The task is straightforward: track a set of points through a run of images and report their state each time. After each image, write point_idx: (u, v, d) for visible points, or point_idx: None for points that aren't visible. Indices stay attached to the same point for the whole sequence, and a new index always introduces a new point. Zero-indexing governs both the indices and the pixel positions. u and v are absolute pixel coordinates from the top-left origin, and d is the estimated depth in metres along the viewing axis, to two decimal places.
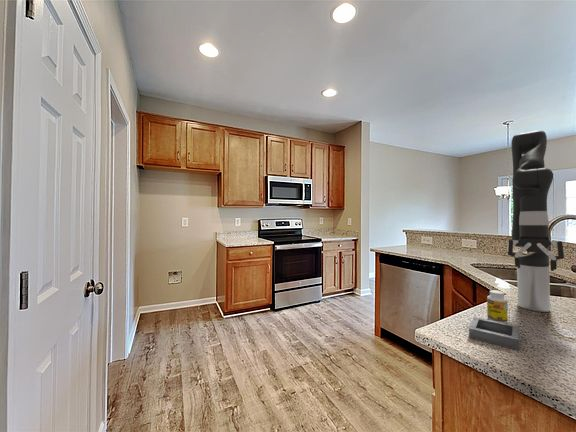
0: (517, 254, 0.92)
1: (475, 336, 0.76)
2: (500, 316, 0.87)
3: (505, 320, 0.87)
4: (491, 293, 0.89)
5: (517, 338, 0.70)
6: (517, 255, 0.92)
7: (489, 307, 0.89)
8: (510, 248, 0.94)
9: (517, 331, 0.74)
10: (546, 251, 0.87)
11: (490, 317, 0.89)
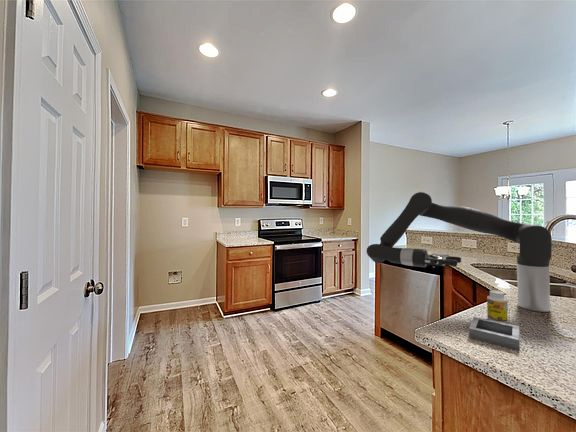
0: None
1: (475, 336, 0.76)
2: (500, 316, 0.87)
3: (505, 320, 0.87)
4: (491, 293, 0.89)
5: (517, 338, 0.70)
6: None
7: (489, 307, 0.89)
8: None
9: (517, 331, 0.74)
10: None
11: (490, 317, 0.89)
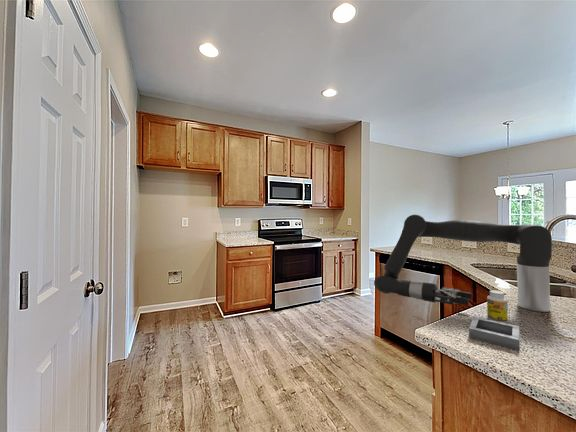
0: None
1: (475, 336, 0.76)
2: (500, 316, 0.87)
3: (505, 320, 0.87)
4: (491, 293, 0.89)
5: (517, 338, 0.70)
6: (457, 296, 1.01)
7: (489, 307, 0.89)
8: None
9: (517, 331, 0.74)
10: None
11: (490, 317, 0.89)
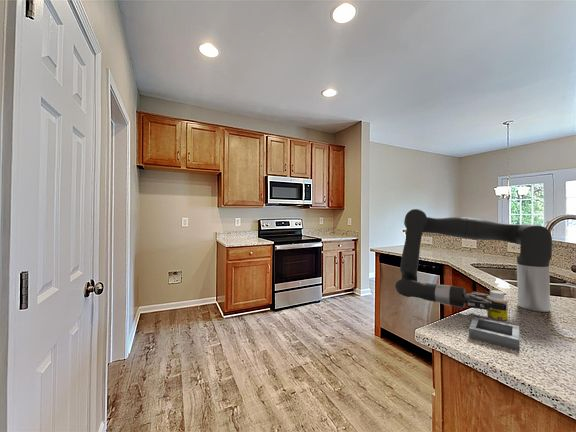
0: None
1: (475, 336, 0.76)
2: (500, 316, 0.87)
3: (505, 320, 0.87)
4: (491, 293, 0.89)
5: (517, 338, 0.70)
6: None
7: None
8: None
9: (517, 331, 0.74)
10: None
11: (490, 317, 0.89)
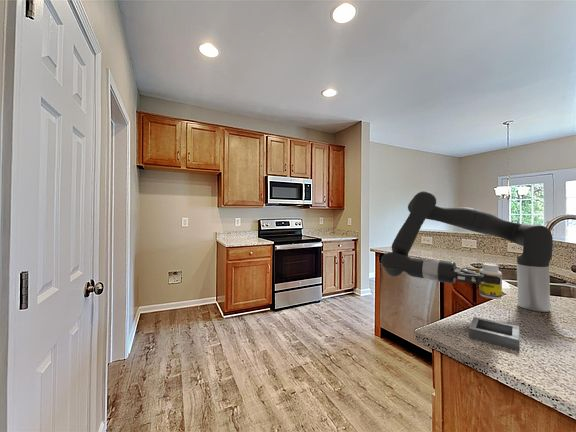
0: None
1: (475, 336, 0.76)
2: (493, 291, 0.77)
3: (499, 296, 0.77)
4: (484, 266, 0.79)
5: (517, 338, 0.70)
6: None
7: None
8: None
9: (517, 331, 0.74)
10: None
11: (482, 293, 0.79)
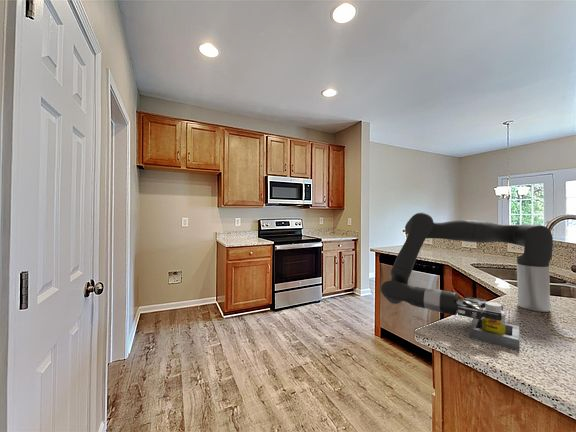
0: None
1: (475, 336, 0.76)
2: None
3: None
4: (486, 305, 0.78)
5: (517, 338, 0.70)
6: None
7: (484, 322, 0.78)
8: None
9: (517, 331, 0.74)
10: None
11: None
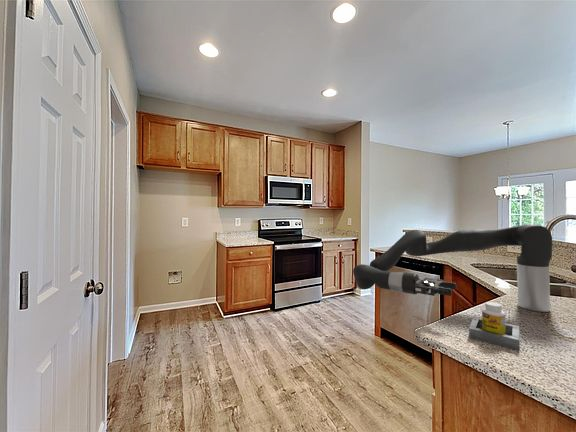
0: None
1: (475, 336, 0.76)
2: None
3: None
4: (487, 305, 0.78)
5: (517, 338, 0.70)
6: None
7: (484, 322, 0.78)
8: None
9: (517, 331, 0.74)
10: None
11: None
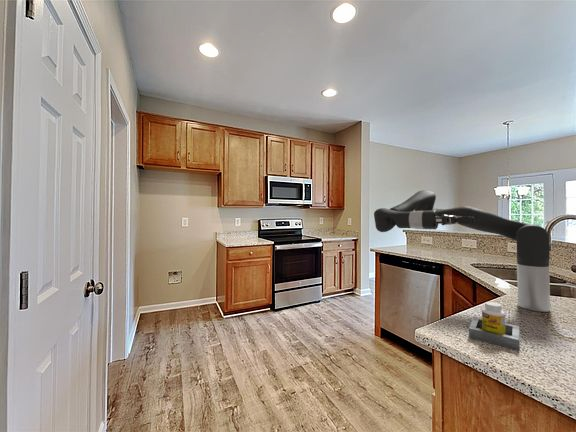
0: None
1: (475, 336, 0.76)
2: None
3: None
4: (486, 305, 0.78)
5: (517, 338, 0.70)
6: None
7: (484, 322, 0.78)
8: None
9: (517, 331, 0.74)
10: None
11: None
